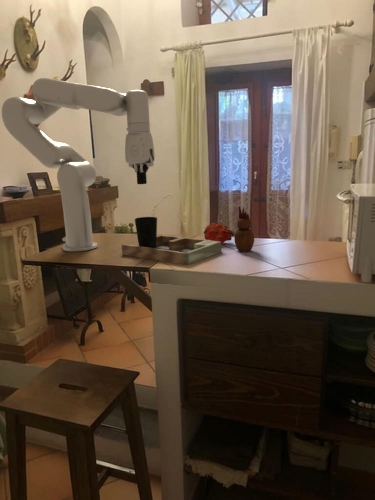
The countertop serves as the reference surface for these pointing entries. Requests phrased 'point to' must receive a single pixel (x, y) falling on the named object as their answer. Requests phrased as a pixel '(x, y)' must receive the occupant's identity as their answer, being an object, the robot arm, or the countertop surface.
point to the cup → (146, 231)
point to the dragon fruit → (218, 233)
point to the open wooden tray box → (175, 249)
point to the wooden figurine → (244, 233)
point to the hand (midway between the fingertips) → (142, 183)
